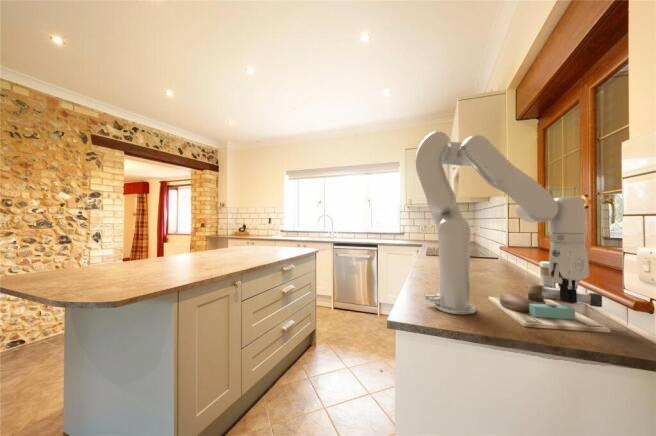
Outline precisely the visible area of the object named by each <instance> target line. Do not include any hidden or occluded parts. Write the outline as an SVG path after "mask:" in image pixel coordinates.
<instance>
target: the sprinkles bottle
mask: <svg viewBox="0 0 656 436" xmlns="http://www.w3.org/2000/svg"><path fill="white" fill-rule="evenodd" d="M539 269H540V274H539V275H540V285H542V286H544V287H548V288H555V289H557V288H556V287H557V285H556V284H557V283H554V282H553V278H554V277H552V276H550V273H549V261H540V262H539ZM545 298H546V299H548V300H553V299H556V298H554V297H548V296H544V299H545Z"/></svg>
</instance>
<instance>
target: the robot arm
mask: <svg viewBox="0 0 656 436" xmlns="http://www.w3.org/2000/svg"><path fill="white" fill-rule="evenodd" d="M420 142H421V143H420V144H419V145H418V148H417V150H416V155H415V160H414V161H415V170H416V173H417V176H418V180H419V182H420V185H421V188H422V190H423V193H424V195H425V198H426V203H427V206H428V208H429V210H430V212H431V216H432V219H433V220H434V224H435V225H436V227H437V245H438V246H437V247H438V252H437V253H438V291H436V293H434V294H424V301H429V302H430V303H431V302H432V303H433V304H434V305H433V306H434V307H435V308H436V309H437V310H438V311H441V312H444V313H447V314H453V315H462V316H463V315H473V314H474V313H476V312H477V308H476V306H475V305H474V304H472V303H471V258H470V257H471V251H470V250H471V246H470V245H471V226H470V223H469V221H468V220H467V219H466V218H464V217H463V214H462V212H461V210H460V207H459V205H458V202H457V196H456V193H455V192H454V189H452V186H451V184H450V181H449V179H448V176H447V174H446V171H445V168H444V167H443V166H444V165H450V166H460V167H461V166H464V167H468V166H469V167H470V166H471V167H472V168H473V169H474V171H475V172H476V173H478V174H479V175H480V177H481V178H482V179H483V180H484V181H485V182H486V184H488V185H489V186H491V187H493V188H495V189H496V190H499V191H501V192H503V193H504V194H505V195H507V196H509V197H510V198H511V199H512V200H513V201H514V202H515V203H516V204H517V206H516V209H515V212H516V216H517V217H518V218H519V219H520V220H521V221H525V222H527V223H528V222H529V223H545V222H549V244H550V248H549V256H548V262H549V273H550V276H552V277H554V278H553V282H554V283H556V284H558V289H560V299H559V300H560V302H563V303H567V304H571V305H572V304H577V303H578V302H577V290H578V287H579V283H580V281H583V280H584V279H587V278H588V277H590V266H589V255H588V251H587V247H586V232H585V231H586V226H585V225H586V224H585V221H586V220H585V219H586V218H585V200H584V198H582V197H581V196H561V197H560V196H559V197H553V196H552V195H551V194H550V193H549V192H548V191H547V190H546V189H545V188H544V187H543V186H542V185H541V184H540V183H539V182H538V181H536V180H535V179H534V178H533V177H532V176H531V175H528V174H527V173H525V172H524V171H523V170H521V169H520V168H518V167H517V166H515V165H514V164H513V163H512V162H511V161H510V160H508V158H507V157H506V156H505V155H504V154H503V153H502V152H501V151H500V150H499V149H498V148H497V147H496V146H495V145H494V144H493V143H492V142H491V141H490V140H489V139H488V138H486V137H485V136H483V135H482V134H474V135H473V134H472V135H471V136H469V137H467V138H465V140H463V142H460V141H458V142H457V141H451V139H450V137H449V136H448V135H447V134H446V133H445V132H443V131H438V130H437V131H433V132H430V133H429V134H428V135H426V136H425V137H424V139H423V140H422V141H420Z"/></svg>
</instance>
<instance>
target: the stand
mask: <svg viewBox="0 0 656 436" xmlns="http://www.w3.org/2000/svg"><path fill="white" fill-rule="evenodd" d="M488 300H489V301H490V302H492V303H493V304H494V305H495V306H497V307H498V308H499V309H500V310H502V311H503V312H504V313H505V314H507V315H509V317H511V318H512V319H513V320H515V321H516V322H517V323H519V324H520V325H521V326H522V327H527V328H538V329H539V328H541V329H551V330H552V329H554V330H566V331H567V330H568V331H582V332H596V333H611V332H612V331H611V328H609V327H607V325H603V324H601V323H600V322H597V321H595V320H593V319H590V318H589V317H587V316H585V315H582V314H581V313H578V312H577V311H575V319H559V318H543V317H534V316H533V315H531V314H529V312H523V311H518V310H513V309H510V308H507V307H504V306H503V305H501V304H500V296H499V297H498V296H488ZM544 301H545V302H546V304H552V305H561V304H560V303H558V302H556V301H553V299H545V298H544Z"/></svg>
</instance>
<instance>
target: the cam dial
mask: <svg viewBox="0 0 656 436" xmlns="http://www.w3.org/2000/svg"><path fill="white" fill-rule="evenodd" d="M544 296H548V297H554V298H555V299H559V300H560V288H556V289H555V288H548V287H544V286H542V285H541V284H536V283H528V284H527V295H524V294H516V293H504V294H500V296H499V297H500V304H501V305H503V306H504V307H507V308H510V309H513V310H518V311H523V312H529V303H530V304H546V302H545V301H544V299H545V298H544ZM577 303H583V304H587V305H589V306H590V307H596V308H602V307H603V294H600V293H595V292H589V293H587V292H586V293H585V292H579V291H578V292H577Z"/></svg>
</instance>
